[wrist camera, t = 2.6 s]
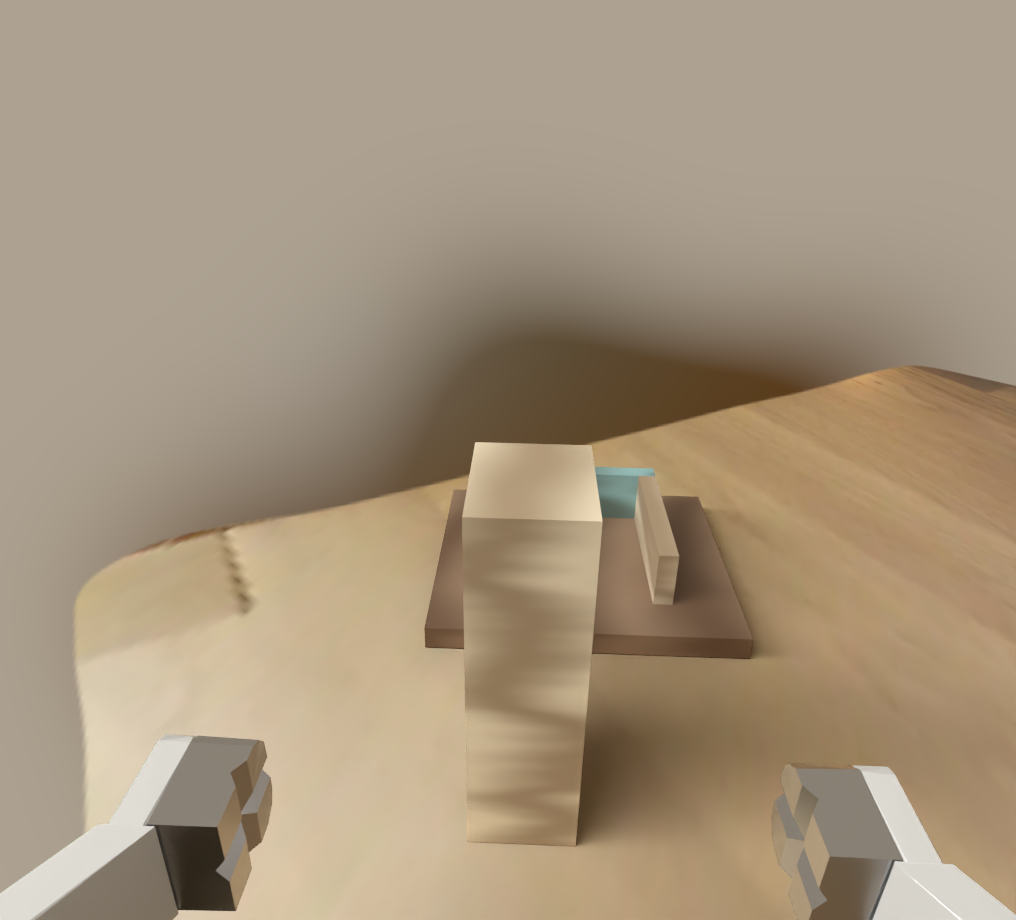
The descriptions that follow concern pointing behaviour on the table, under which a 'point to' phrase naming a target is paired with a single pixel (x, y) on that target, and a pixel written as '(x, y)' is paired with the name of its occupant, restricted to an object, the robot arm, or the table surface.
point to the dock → (629, 576)
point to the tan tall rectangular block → (528, 637)
